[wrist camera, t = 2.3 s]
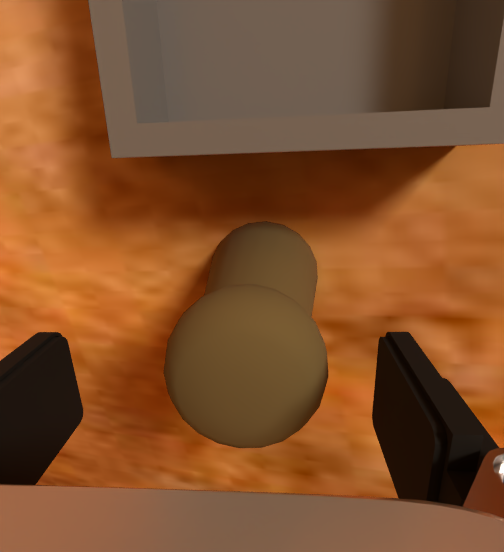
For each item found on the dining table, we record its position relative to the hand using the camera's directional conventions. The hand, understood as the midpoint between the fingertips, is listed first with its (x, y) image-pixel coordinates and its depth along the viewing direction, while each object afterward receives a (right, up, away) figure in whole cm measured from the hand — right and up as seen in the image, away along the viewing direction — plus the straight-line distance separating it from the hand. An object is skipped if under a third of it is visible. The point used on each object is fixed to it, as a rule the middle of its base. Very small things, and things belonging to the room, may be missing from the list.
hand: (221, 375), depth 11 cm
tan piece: (+2, +3, +10) cm, 10 cm away
